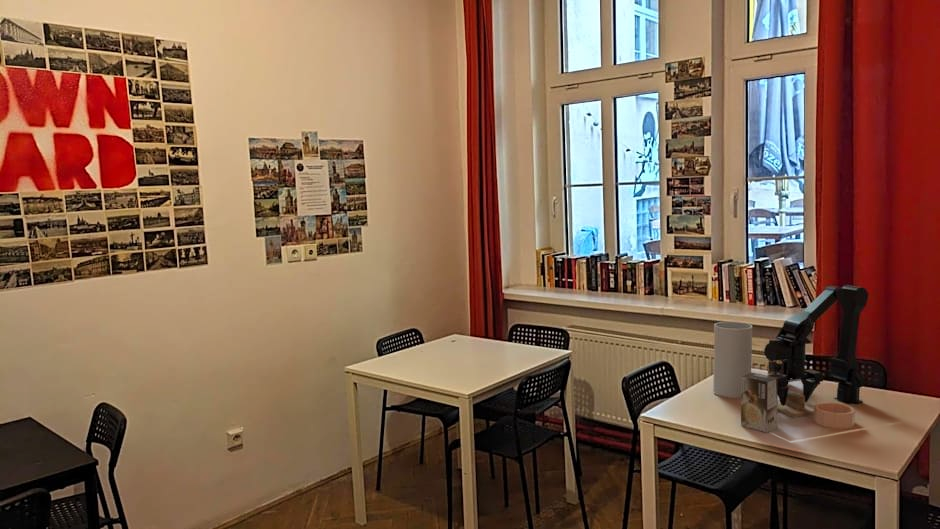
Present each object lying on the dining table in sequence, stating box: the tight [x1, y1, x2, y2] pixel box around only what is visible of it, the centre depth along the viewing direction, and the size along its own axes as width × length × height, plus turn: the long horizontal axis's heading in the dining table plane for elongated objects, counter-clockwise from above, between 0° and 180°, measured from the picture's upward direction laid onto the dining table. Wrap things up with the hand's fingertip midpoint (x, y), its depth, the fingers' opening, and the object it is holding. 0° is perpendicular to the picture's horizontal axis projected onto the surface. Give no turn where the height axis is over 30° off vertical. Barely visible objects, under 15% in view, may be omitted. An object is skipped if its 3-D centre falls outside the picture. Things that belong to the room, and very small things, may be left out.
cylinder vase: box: [712, 321, 753, 399], centre depth 251 cm, size 12×12×25 cm
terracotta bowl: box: [813, 401, 856, 430], centre depth 221 cm, size 11×11×5 cm
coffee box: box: [740, 372, 779, 433], centre depth 219 cm, size 9×6×16 cm
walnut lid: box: [777, 390, 815, 418], centre depth 234 cm, size 13×13×5 cm
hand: (794, 403), depth 234 cm, fingers open, 9 cm apart
